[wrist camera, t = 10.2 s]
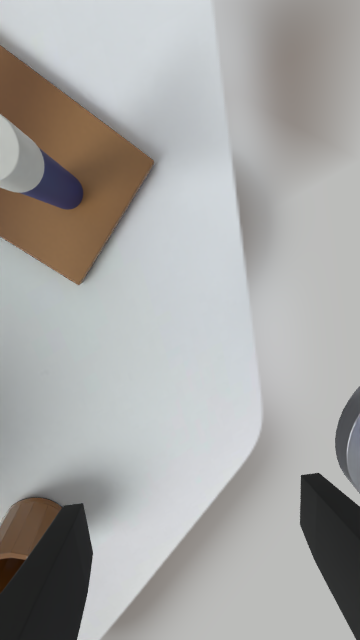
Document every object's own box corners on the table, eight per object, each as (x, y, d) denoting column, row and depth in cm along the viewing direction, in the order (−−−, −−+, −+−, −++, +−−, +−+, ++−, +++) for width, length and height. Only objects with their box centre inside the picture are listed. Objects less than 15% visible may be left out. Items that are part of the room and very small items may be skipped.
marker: (81, 171, 16) (11, 103, 8) (87, 209, 17) (26, 178, 9) (44, 174, 16) (-60, 108, 8) (51, 212, 16) (-42, 184, 9)
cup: (63, 493, 22) (43, 548, 18) (74, 544, 23) (58, 606, 19) (-3, 501, 21) (-39, 559, 17) (11, 553, 22) (-19, 617, 19)
